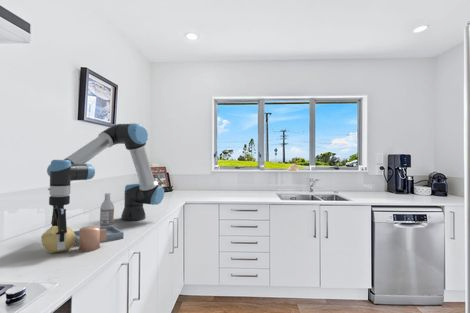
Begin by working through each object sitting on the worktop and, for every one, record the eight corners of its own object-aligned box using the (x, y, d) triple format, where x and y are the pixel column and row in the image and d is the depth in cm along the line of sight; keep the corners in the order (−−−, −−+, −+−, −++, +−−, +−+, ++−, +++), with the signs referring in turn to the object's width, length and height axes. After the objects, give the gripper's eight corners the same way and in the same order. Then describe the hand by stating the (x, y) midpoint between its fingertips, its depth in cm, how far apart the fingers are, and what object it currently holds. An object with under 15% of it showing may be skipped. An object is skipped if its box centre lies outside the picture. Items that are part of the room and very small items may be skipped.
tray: (112, 231, 149) (112, 225, 149) (123, 238, 137) (123, 232, 137) (70, 237, 136) (70, 231, 136) (78, 246, 124) (78, 239, 124)
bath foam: (113, 230, 152) (114, 194, 152) (99, 231, 149) (100, 194, 149) (113, 227, 158) (114, 192, 158) (99, 228, 155) (100, 192, 155)
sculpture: (50, 246, 122) (51, 222, 123) (79, 245, 124) (79, 222, 124) (35, 255, 111) (36, 229, 111) (67, 254, 113) (68, 228, 113)
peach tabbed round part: (77, 247, 122) (77, 227, 122) (103, 243, 129) (103, 224, 129) (81, 252, 116) (82, 231, 116) (108, 247, 123) (109, 227, 123)
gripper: (44, 192, 125) (43, 239, 124) (54, 199, 106) (52, 255, 106) (64, 191, 130) (62, 236, 129) (76, 198, 111) (74, 251, 111)
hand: (58, 245), depth 118 cm, fingers closed on sculpture, 12 cm apart
